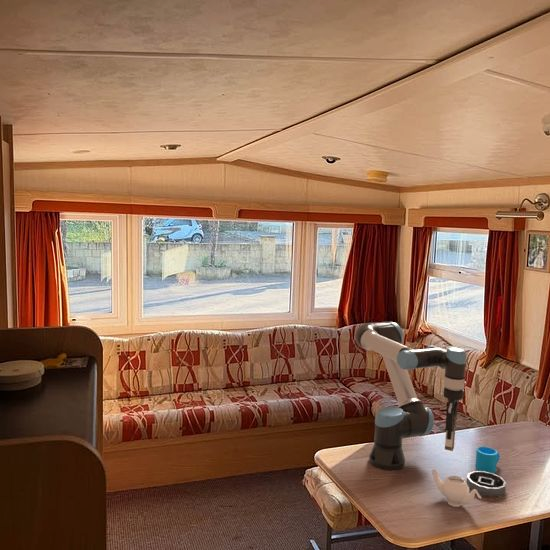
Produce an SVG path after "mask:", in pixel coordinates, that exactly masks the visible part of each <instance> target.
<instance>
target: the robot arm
mask: <svg viewBox="0 0 550 550" xmlns="http://www.w3.org/2000/svg"><path fill="white" fill-rule="evenodd" d="M354 333H355V334H354V341H355V343H356V344H357V345H358V346H359V347H360V348H361V349H364V350H366V351H373V352H375V353H378V355H381V357H382V359H383V361H384V365H385V368H386V371H387V373H388V377H389V379H390V383H391V386H392V388H393V392H394V393H395V394H394V395H395V397H396V400H397V403H398V406H390V405H389V406H384V407H380V408H379V409H378V410H377V411H376V412H375V418H374V442H373V446H372V448H371V451H370V453H369V456H368V458H369V459H368V462H369V463H370V465H371V466H373V467H374V468H377V469H378V470H379V469H380V470H383V471H392V472H393V471H399V470H400V471H401V470H402V469H404V468H405V466H406V459H405V458H406V457H405V454H404V450H403V439H406V438H412V437H413V438H414V437H422V436H423V435H428V434H430V433H431V432H432V431H433V429H434V425H435V418H434V417H435V416H434V413H433V412H432V410H431V408H429V407H428V406H425V405H424V402H423V401H422V400H421V399H419V398H418V396H417V393H416V390H415V388H414V385H413V382H412V380H411V376H410V374H409V371H411V370H412V371H413V370H416V369H424V368H436V367H437V368H440V369H443V370H444V380H443V381H444V382H443V385H444V387H443V397H444V398H446V399H448V400H447V401H446V408H445V410H446V411H445V413H446V415H445V417H446V418H445V428H444V429H443V431H445V439H444V440H445V442H444V447H445V446H448V447H452V445H453V432H454V431H453V425H454V417H456V427H455V428H458V425H457V417H458V408H459V403H460V402H459V401H461V400H463V399H464V396H465V395H464V393H465V390H464V389H465V385H466V384H467V381H465V380H466V379H465V378H466V370H467V369H466V368H467V360H468V359H467V351H466V350H465V349H463V348H459V347H448V348H447V349H444V348H443V347H440V346H437V345H432V344H431V345H428V346H427V347H426V348H418V349H413V348H412V347H409V346H407V345H404V344H402V343H403V341H404V332H403V330H402V327H401V326H400V325H399V324H398V323H397V322H393V321H387V320H386V321H381V322H380V321H379V322H366V323H363V324H361V325H359V326H358V327H357V328H356V330H355V332H354Z"/></svg>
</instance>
